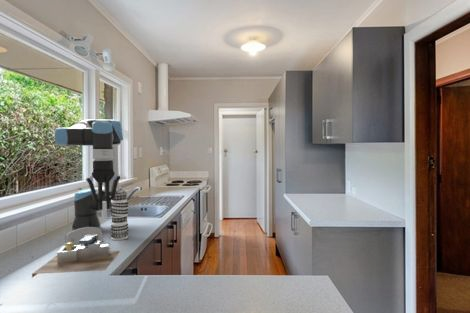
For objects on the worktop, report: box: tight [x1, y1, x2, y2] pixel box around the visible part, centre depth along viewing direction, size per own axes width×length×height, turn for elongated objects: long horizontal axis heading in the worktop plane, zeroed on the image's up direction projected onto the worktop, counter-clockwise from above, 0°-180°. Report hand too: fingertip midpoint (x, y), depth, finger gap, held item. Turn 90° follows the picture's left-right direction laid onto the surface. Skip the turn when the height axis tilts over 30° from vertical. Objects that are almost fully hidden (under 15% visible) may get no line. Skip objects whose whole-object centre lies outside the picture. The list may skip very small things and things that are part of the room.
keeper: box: [79, 234, 98, 246], centre depth 120 cm, size 8×5×9 cm, turn 6°
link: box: [56, 241, 111, 263], centre depth 119 cm, size 19×7×6 cm, turn 105°
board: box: [31, 250, 121, 278], centre depth 115 cm, size 20×26×1 cm
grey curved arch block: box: [64, 227, 105, 246], centre depth 136 cm, size 17×5×10 cm, turn 132°
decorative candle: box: [109, 189, 129, 241], centre depth 148 cm, size 9×9×25 cm
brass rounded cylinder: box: [65, 242, 74, 251], centre depth 118 cm, size 3×3×8 cm
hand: (104, 217), depth 114 cm, fingers closed
